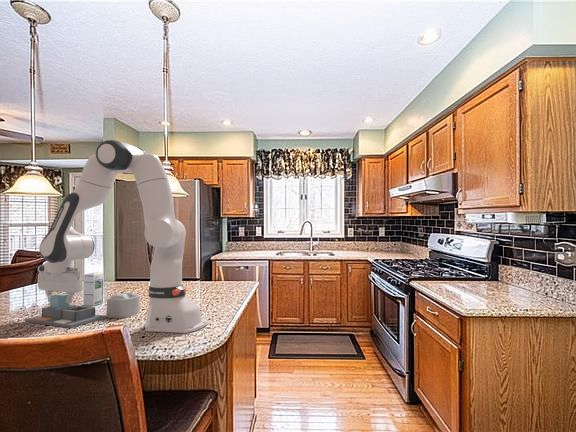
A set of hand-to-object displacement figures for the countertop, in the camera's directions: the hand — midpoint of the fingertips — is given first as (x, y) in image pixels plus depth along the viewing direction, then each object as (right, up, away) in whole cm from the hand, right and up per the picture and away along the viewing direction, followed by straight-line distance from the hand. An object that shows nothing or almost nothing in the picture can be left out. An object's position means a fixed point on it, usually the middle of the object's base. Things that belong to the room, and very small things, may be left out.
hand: (59, 302), depth 134 cm
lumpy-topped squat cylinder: (+22, -7, +7) cm, 24 cm away
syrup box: (-1, -7, +24) cm, 25 cm away
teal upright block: (0, -5, 0) cm, 5 cm away
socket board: (+4, -6, -3) cm, 8 cm away
